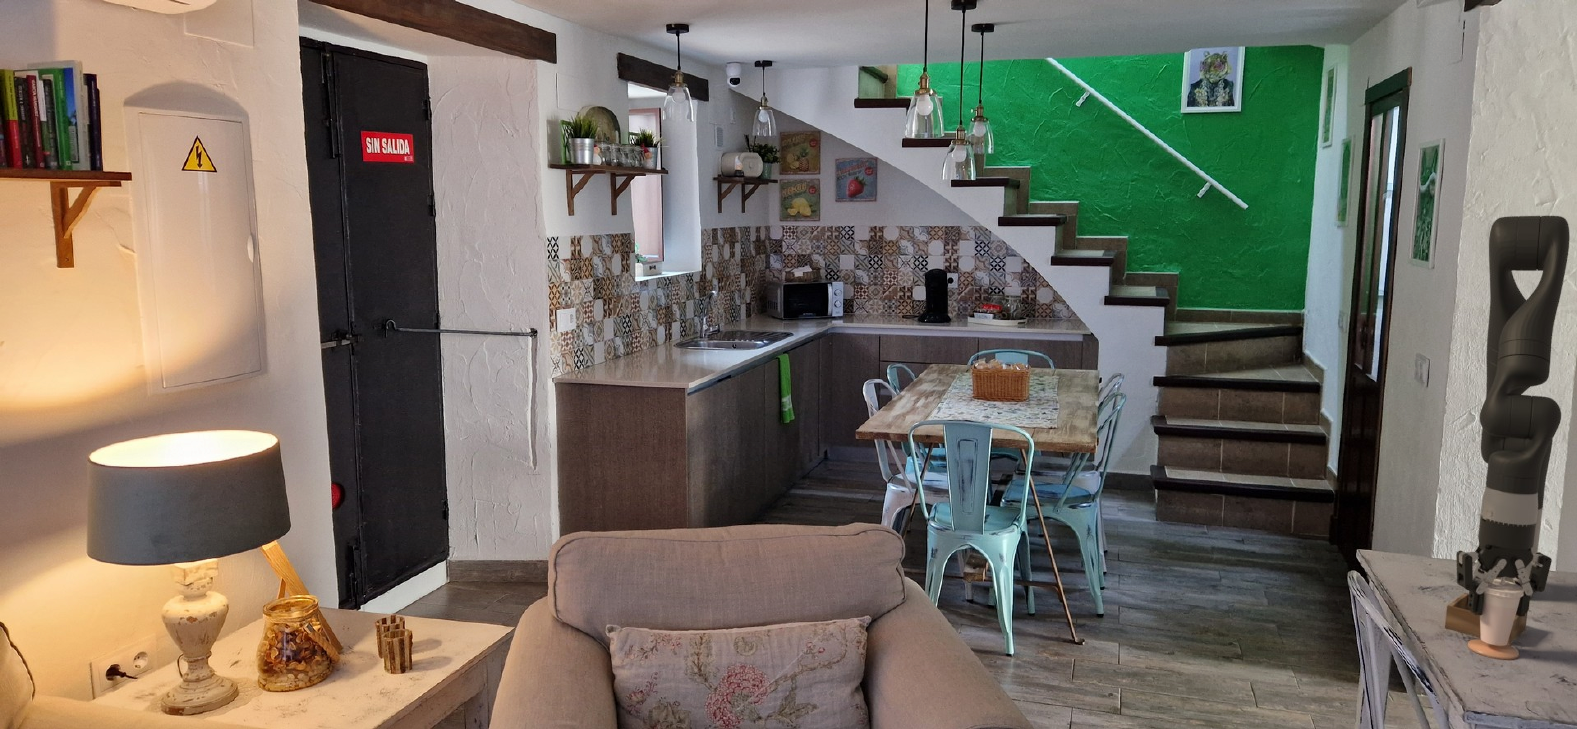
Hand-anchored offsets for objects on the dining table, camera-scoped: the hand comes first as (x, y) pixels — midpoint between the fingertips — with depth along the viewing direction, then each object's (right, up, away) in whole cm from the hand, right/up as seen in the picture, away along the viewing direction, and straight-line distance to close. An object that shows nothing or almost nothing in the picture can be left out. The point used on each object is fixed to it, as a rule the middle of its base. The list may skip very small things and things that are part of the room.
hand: (1497, 614), depth 174 cm
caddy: (+5, -5, +10) cm, 12 cm away
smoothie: (0, -5, +1) cm, 5 cm away
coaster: (0, -6, +1) cm, 6 cm away
